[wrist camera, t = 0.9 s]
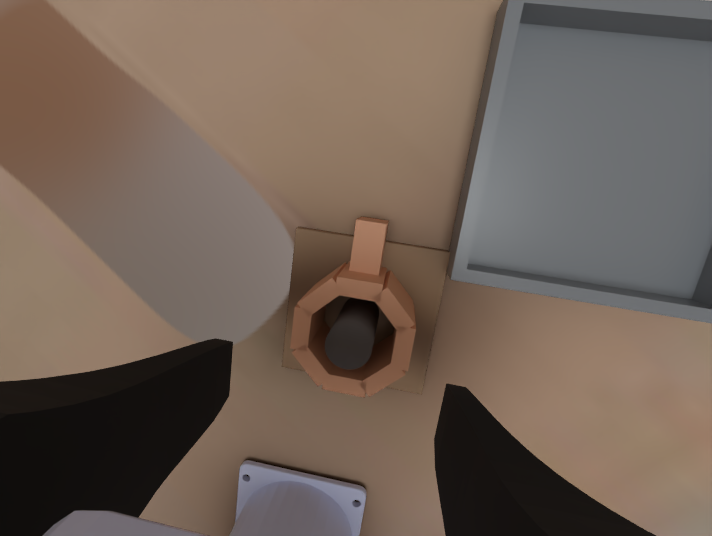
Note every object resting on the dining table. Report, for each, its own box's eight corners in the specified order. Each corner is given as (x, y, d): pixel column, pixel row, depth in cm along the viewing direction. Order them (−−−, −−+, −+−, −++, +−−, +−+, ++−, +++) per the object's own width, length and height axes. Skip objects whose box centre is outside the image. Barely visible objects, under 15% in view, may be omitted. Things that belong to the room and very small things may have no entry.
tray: (691, 309, 18) (732, 326, 16) (445, 269, 19) (450, 279, 17) (790, 40, 15) (856, 13, 13) (497, 11, 16) (511, -17, 14)
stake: (421, 388, 21) (426, 449, 16) (284, 361, 21) (249, 411, 16) (449, 250, 19) (464, 271, 14) (299, 226, 20) (264, 238, 15)
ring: (402, 368, 20) (401, 405, 16) (306, 350, 20) (286, 382, 17) (428, 226, 18) (434, 235, 15) (322, 210, 19) (304, 214, 15)
